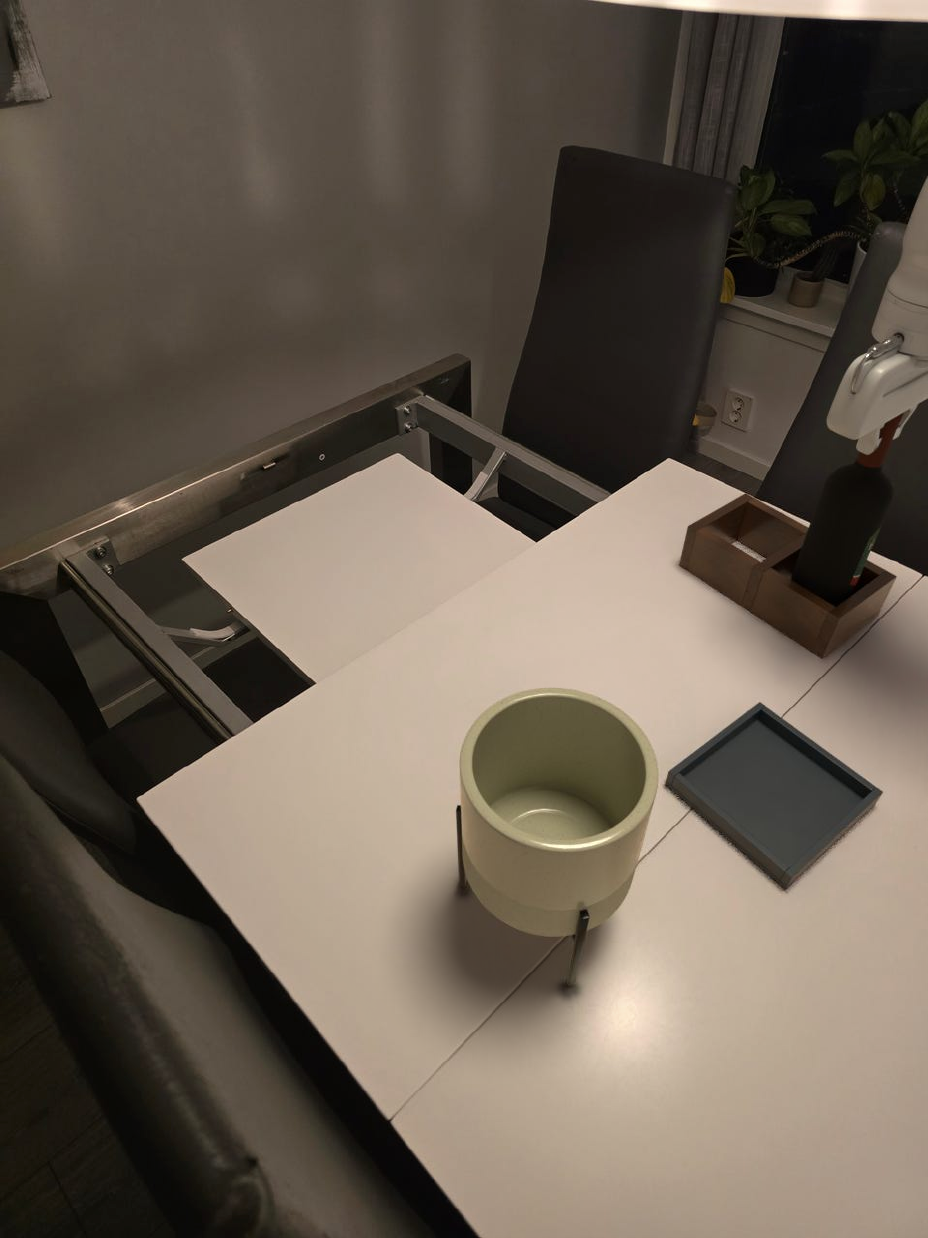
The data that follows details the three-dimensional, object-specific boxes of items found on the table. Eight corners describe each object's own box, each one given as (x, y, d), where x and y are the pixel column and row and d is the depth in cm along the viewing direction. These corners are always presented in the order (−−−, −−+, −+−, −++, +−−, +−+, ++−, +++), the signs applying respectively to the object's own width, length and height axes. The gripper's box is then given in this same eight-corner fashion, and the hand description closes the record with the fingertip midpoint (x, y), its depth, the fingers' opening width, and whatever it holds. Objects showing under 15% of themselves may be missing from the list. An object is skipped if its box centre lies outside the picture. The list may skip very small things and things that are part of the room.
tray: (875, 804, 83) (883, 791, 82) (785, 889, 77) (792, 877, 75) (754, 714, 92) (759, 701, 91) (664, 784, 86) (668, 771, 84)
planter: (656, 895, 76) (703, 754, 60) (551, 1018, 68) (573, 893, 52) (538, 801, 84) (551, 655, 68) (431, 902, 76) (418, 763, 60)
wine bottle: (778, 588, 108) (847, 385, 87) (836, 592, 107) (919, 388, 86) (787, 626, 102) (862, 420, 81) (847, 631, 101) (939, 423, 80)
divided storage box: (877, 616, 104) (897, 576, 99) (821, 658, 99) (839, 618, 94) (734, 531, 117) (745, 492, 113) (678, 565, 112) (687, 525, 107)
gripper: (895, 363, 71) (847, 490, 81) (1007, 304, 80) (951, 425, 89) (834, 340, 75) (795, 464, 84) (947, 286, 84) (900, 404, 93)
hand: (876, 443), depth 87 cm, fingers closed on wine bottle, 3 cm apart
